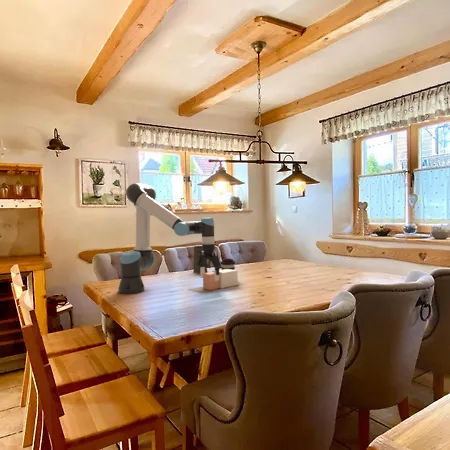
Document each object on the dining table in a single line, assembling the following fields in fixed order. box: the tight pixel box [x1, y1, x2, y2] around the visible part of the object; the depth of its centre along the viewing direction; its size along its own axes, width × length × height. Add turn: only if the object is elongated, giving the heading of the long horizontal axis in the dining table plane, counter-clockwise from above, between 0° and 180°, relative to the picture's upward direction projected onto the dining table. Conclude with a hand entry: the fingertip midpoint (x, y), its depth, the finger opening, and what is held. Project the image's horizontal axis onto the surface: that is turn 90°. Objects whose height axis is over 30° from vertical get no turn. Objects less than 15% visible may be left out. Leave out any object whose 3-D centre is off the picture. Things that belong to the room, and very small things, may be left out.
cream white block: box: [211, 269, 239, 288], centre depth 221 cm, size 13×9×9 cm
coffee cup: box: [220, 258, 236, 270], centre depth 236 cm, size 10×10×15 cm
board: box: [187, 284, 241, 294], centre depth 215 cm, size 30×14×1 cm, turn 131°
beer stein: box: [193, 245, 212, 274], centre depth 276 cm, size 15×11×20 cm
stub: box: [202, 270, 220, 290], centre depth 214 cm, size 8×6×9 cm
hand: (209, 279), depth 212 cm, fingers open, 13 cm apart
